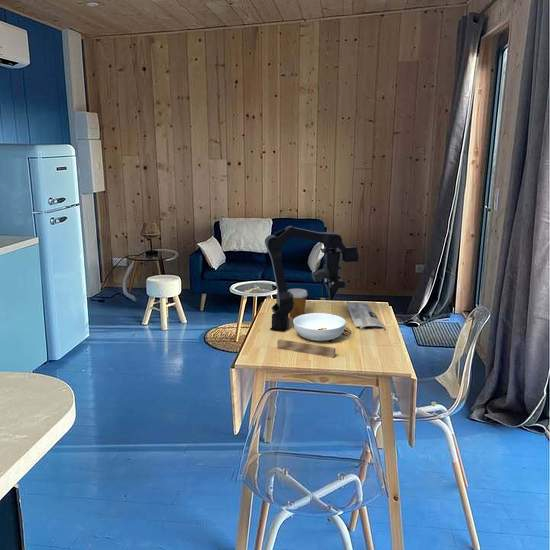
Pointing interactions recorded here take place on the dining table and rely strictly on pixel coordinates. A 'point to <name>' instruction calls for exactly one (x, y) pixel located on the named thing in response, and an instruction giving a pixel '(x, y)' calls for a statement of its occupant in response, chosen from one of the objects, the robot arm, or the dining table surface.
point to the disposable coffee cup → (298, 302)
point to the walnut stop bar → (306, 348)
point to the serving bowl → (319, 326)
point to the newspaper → (364, 316)
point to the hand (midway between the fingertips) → (331, 299)
